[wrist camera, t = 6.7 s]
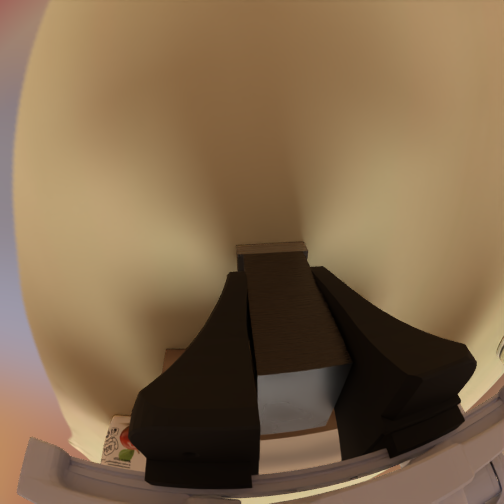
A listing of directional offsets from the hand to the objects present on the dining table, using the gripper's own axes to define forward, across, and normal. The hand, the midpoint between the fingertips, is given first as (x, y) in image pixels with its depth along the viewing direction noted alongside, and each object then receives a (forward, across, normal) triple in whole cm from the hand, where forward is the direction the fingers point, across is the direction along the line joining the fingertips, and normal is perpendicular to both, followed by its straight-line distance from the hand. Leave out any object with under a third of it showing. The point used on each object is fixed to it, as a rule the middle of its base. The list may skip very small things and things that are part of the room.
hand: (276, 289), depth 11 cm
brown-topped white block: (+2, 0, +6) cm, 7 cm away
